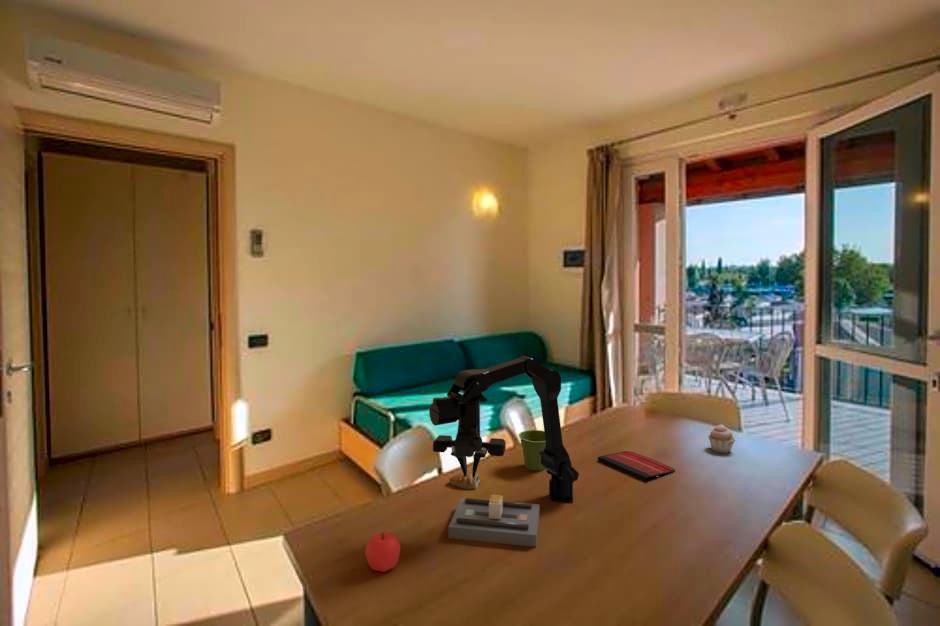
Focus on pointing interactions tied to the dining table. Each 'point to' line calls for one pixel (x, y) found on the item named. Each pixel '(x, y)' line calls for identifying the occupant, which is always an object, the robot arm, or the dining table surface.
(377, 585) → the dining table surface
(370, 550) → the apple
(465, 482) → the pastry
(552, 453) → the robot arm
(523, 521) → the slide switch base
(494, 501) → the switch knob
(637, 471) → the binder
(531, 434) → the plant pot
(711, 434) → the cupcake
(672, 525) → the dining table surface
